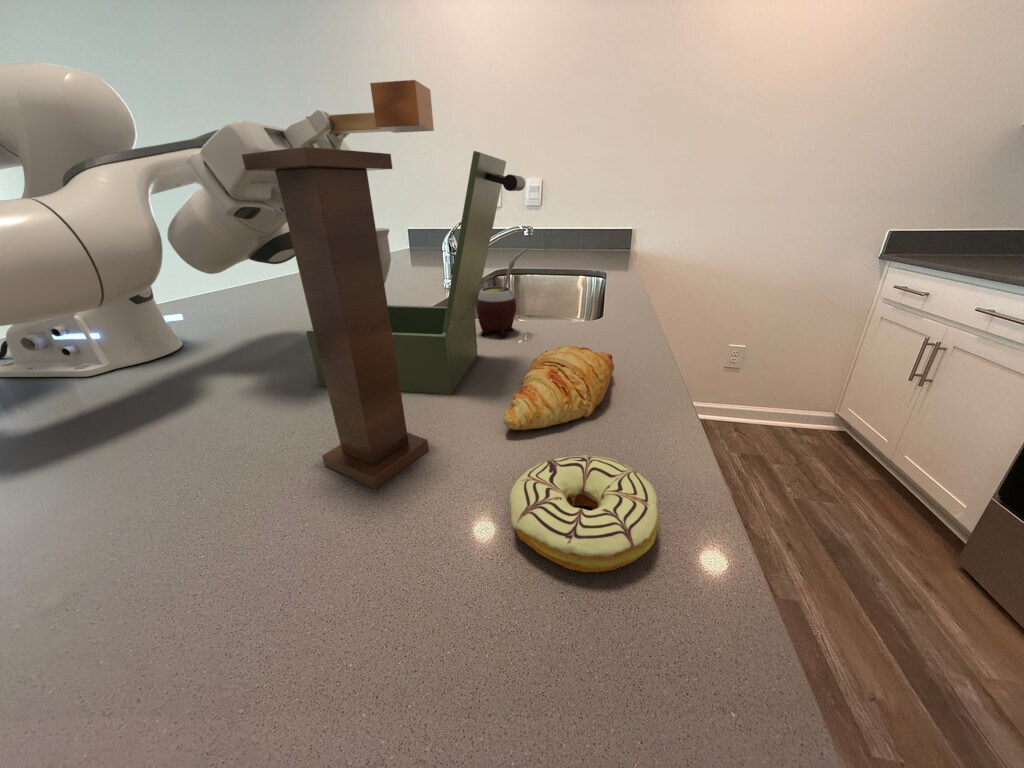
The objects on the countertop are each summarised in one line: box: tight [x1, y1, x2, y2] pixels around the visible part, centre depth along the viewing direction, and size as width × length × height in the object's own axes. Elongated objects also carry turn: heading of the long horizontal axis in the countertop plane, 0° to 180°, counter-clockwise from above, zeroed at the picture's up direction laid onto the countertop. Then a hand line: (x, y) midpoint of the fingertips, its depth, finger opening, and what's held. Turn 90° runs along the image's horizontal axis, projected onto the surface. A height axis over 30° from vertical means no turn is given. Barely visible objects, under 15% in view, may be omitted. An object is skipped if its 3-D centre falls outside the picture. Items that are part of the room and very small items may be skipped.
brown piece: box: [305, 79, 435, 134], centre depth 46 cm, size 14×4×4 cm, turn 80°
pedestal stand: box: [242, 147, 430, 490], centre depth 34 cm, size 7×7×26 cm
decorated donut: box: [509, 454, 660, 574], centre depth 30 cm, size 10×11×4 cm
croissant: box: [503, 345, 615, 431], centre depth 48 cm, size 21×10×8 cm, turn 141°
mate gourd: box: [475, 247, 528, 339], centre depth 71 cm, size 8×8×15 cm
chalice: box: [376, 227, 392, 284], centre depth 72 cm, size 7×7×18 cm
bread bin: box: [306, 304, 478, 395], centre depth 58 cm, size 19×14×8 cm
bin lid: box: [443, 150, 526, 334], centre depth 50 cm, size 19×14×4 cm
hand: (336, 119), depth 47 cm, fingers closed on brown piece, 2 cm apart
